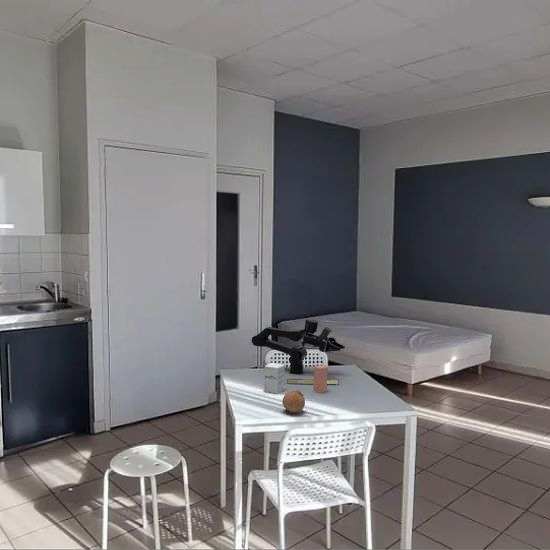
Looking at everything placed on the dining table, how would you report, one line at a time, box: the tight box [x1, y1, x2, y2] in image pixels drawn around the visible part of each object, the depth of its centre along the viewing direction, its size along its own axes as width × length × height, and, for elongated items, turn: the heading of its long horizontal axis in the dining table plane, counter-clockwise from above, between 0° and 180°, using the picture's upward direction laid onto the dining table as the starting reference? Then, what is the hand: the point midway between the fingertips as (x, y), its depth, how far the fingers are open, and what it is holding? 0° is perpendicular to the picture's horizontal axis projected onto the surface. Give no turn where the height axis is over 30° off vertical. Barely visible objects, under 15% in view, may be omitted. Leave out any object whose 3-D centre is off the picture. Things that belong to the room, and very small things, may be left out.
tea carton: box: [312, 365, 329, 394], centre depth 246 cm, size 4×5×12 cm
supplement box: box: [263, 362, 286, 395], centre depth 245 cm, size 7×7×13 cm
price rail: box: [286, 378, 340, 386], centre depth 259 cm, size 3×26×2 cm, turn 90°
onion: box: [282, 390, 306, 414], centre depth 217 cm, size 10×9×10 cm
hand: (342, 348), depth 267 cm, fingers open, 9 cm apart
